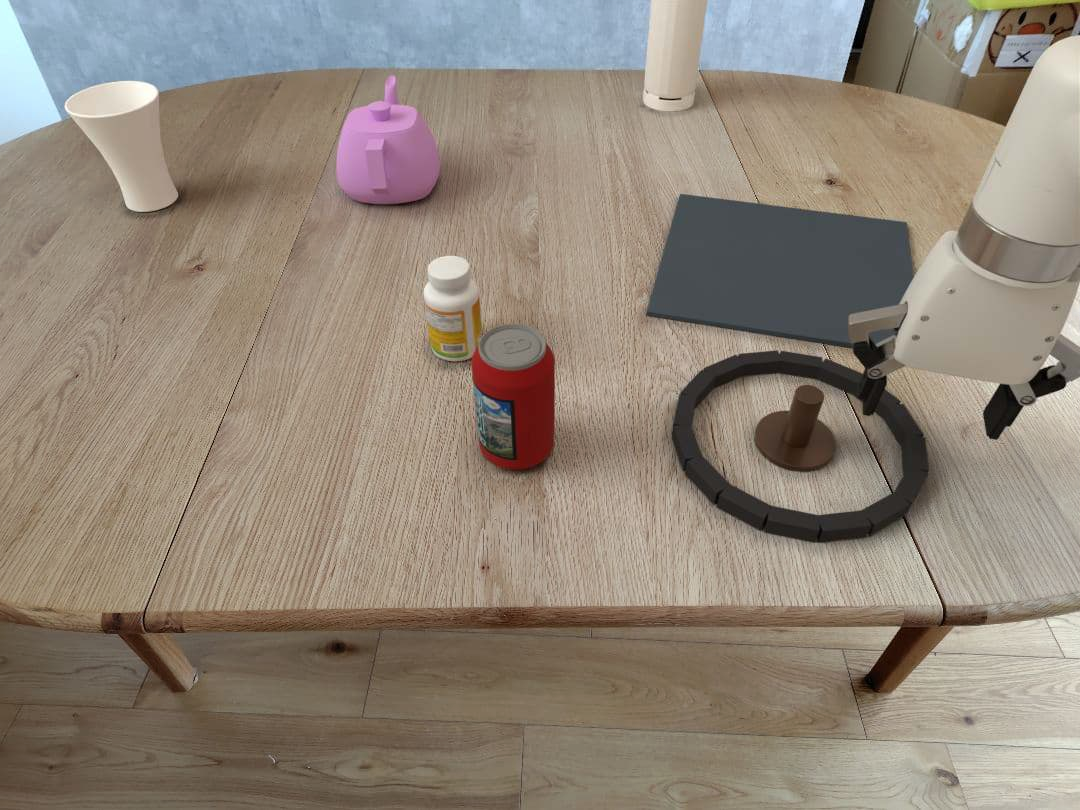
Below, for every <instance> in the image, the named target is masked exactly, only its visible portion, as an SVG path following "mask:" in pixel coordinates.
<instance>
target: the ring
mask: <svg viewBox="0 0 1080 810" xmlns="http://www.w3.org/2000/svg"><path fill="white" fill-rule="evenodd" d="M768 374H784V375H791V376H796V377H803V378H807V379H808V378H809V379H815V380H818V381H821V382H823V383H825V384H827V385H829V386H831V387H834V388H837V389H839V390H841V391H843V392H845V393H848V394H850V395H853V396H854V397H855V398H857V388H858V384H859V382H860V380H861V377H862V375H863V372H860V371H858V370H855V369H853V368H850V367H848V366H846V365H843V364H842V363H839V362H836V361H834V360H831V359H828V358H824V360H823V357H822V356H816V355H811V354H805V353H798V352H793V351H786V350H780V351H779V350H777V349H776V350H767V351H753V352H744V353H743V352H742V353H738V355H737V354H734V355H731V356H729V357H726V358H724V359H722V360H719V361H717V362H714V363H713V364H710V365H707V366H705V367H704V368H703V369H701V370H699V372H698V373H697V374H696V375H695V376H694V377H693V378H692V379H691V381H689V383H687V384H686V386H685V387H684V388H683V389H682V390H681V391H680V394H679V395H678V399H677V404H676V409H675V414H674V417H673V425H672V430H671V440H672V443H673V446H674V449H675V451H676V455H677V457H678V460H679V463H680V466H681V469H682V471H683V472H684V474H685V476H686V477H688V479H689V480H690V481H691V482H692V483H693V484H694V486H696V487H697V489H698V490H699V491H701V493H702V494H703V495H704V496H705V497H706V498H707V499H708V500H709V501H710V502H711V504H712V505H716V508H718V509H720V510H721V511H723V512H725V513H727V514H728V515H730V516H732V517H734V518H736V519H738V520H740V521H741V522H743V523H746V524H747V525H749V526H751V527H753V528H755V529H756V530H758V531H762V529H763V528H764V529H763V532H764V533H768V534H773V535H777V536H781V537H785V538H786V537H787V538H790V539H791V538H792V539H796V540H801V541H806V542H811V543H816V540H817V541H818V543H826V542H836V541H844V540H853V539H861V538H867V536H868V537H871V536H873V535H874V534H877V533H878V532H880V531H882V530H883V529H885V528H887V527H888V526H890V525H892V524H894V523H896V522H898V521H899V520H901V519H902V518H905V516H906V515H907V514H908V513H909V511H910V509H911V508H912V505H913V503H914V502H915V500H916V498H917V496H918V495H919V492H920V491H921V489H922V487H923V485H924V484H925V481H926V479H927V477H928V475H929V471H930V467H929V459H928V458H929V457H928V450H927V441H926V437H925V436H924V435H925V434H924V432H923V431H922V429H921V428H920V427H919V425H918V423H917V422H916V420H915V419H914V417H913V416H912V415H911V413H910V411H909V410H908V408H907V407H906V406H905V404H904V403H901V402H902V401H901V400H900V399H899V398H898V397H896V396H895V395H894V394H892V393H891V392H890V391H888V390H887V389H886V388H885V389H884V392H883V394H882V396H881V398H880V400H879V403H878V405H877V407H876V409H875V411H874V413H875V414H877V415H878V416H879V417H880V418H882V419H883V421H884V422H885V423H884V424H886V426H887V427H888V429H889V430H890V432H891V434H892V436H893V437H894V438H895V440H896V442H897V443H898V445H899V446H900V456H901V457H900V458H901V466H902V467H901V468H902V477H901V479H900V481H899V482H898V484H897V486H896V488H895V489H894V491H893V492H892V493H890V494H888V495H886V496H885V497H883V498H881V499H879V500H877V501H876V502H874V503H872V504H870V505H868V506H867V507H865V508H863V509H861V510H852V511H844V512H843V511H842V512H833V513H825V514H815V513H810V512H805V511H800V510H795V509H790V508H785V507H781V506H776V505H771V504H769V503H767V502H765V501H763V500H761V499H759V498H758V497H756V496H754V495H752V494H750V493H748V492H746V491H744V490H742V489H741V488H739V487H736V486H735V485H732V484H731V483H730V482H729V481H728V480H727V479H726V478H725V477H724V476H723V475H721V473H720V472H719V471H718V470H717V468H715V467H714V466H713V465H712V464H711V462H709V461H708V459H706V457H704V455H703V453H702V450H701V447H700V445H699V442H698V440H697V437H696V434H695V432H694V429H693V426H692V424H693V420H694V414H695V409H697V408H698V406H699V405H700V404H701V403H702V402H703V401H704V400H705V398H707V396H708V395H710V393H711V392H712V391H713V390H714V389H717V388H718V387H720V386H723V385H725V384H727V383H730V382H732V381H734V380H737V379H739V378H741V377H746V376H757V375H758V376H759V375H768ZM858 400H859V401H860V402H862V400H861V399H858Z"/></svg>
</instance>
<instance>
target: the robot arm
mask: <svg viewBox="0 0 1080 810" xmlns="http://www.w3.org/2000/svg"><path fill="white" fill-rule="evenodd" d="M1005 125H1006V126H1005V128H1004V130H1003V132H1002V133H1001V137H1000V139H999V141H998V143H997V145H996V146H995V150H994V152H993V154H992V156H991V158H990V161H989V162H988V165H987V167H986V169H985V171H984V174H983V176H982V178H981V181H980V182H979V185H978V187H977V189H976V191H975V193H974V196H973V198H972V200H971V202H970V205H969V206H968V209H967V210H966V213H965V215H964V217H963V219H962V222H961V224H960V226H959V228H958V230H948V231H945V232H944V233H943V234H942V235H941V237H940V238H939V239H938V240H937V241H936V242H935V244H934V245H933V247H932V248H931V250H930V251H929V253H927V255H926V257H925V258H924V259H923V262H922V263H921V265H920V266H919V268H918V270H917V271H916V273H915V274H914V278H913V280H912V281H911V283H910V285H909V287H908V289H907V290H906V292H905V294H904V296H903V298H902V300H901V302H900V304H899V305H894V306H889V307H884V308H879V309H874V310H869V311H864V312H859V313H854V314H851V315H849V316H848V317H847V330H848V334H849V338H850V341H851V344H852V347H853V348H852V353H853V355H854V356H855V357H856V359H857V360H858V361H859V363H860V364H861V365H862V366H863V368H864V369H863V372H862V374H863V375H862V377H861V380H860V382H859V384H858V388H857V397H856V399H857V400H859V399H861V400H862V401H861V403H862V405H861V406H862V415H863V416H867V417H871V416H873V415H874V414H875V412H874V411H875V409H876V407H877V405H878V403H879V400H880V398H881V396H882V394H883V392H884V389H886V387H887V385H888V378H887V377H888V375H889V374H891V373H894V372H896V371H898V370H900V369H902V368H904V367H908V368H911V369H915V370H919V371H925V372H930V373H936V374H940V375H946V376H952V377H958V378H963V379H969V380H975V381H980V382H981V381H982V382H988V383H994V384H999V385H998V386H997V388H996V390H995V392H994V393H993V395H992V396H991V398H990V400H989V401H988V403H987V404H986V406H985V408H984V409H983V411H982V417H983V423H984V428H985V432H986V437H988V439H989V440H995V441H998V440H999V438H1000V437H1001V435H1002V434H1003V432H1004V431H1005V429H1006V428H1010V427H1012V426H1013V424H1014V423H1015V420H1016V419H1017V417H1018V416H1019V414H1020V413H1021V411H1022V410H1023V408H1024V407H1031V406H1033V405H1034V404H1035V403H1036V402H1037V399H1038V398H1041V397H1044V396H1047V395H1051V394H1053V393H1056V392H1060V391H1062V390H1064V389H1065V388H1066V386H1067V384H1068V383H1069V382H1074V381H1075V380H1078V379H1079V378H1080V346H1079V345H1078V344H1076V343H1075V342H1074V341H1072V340H1070V339H1069V337H1066V336H1065V335H1064V334H1062V332H1063V329H1064V327H1065V325H1066V322H1067V319H1068V317H1069V315H1070V312H1071V309H1072V307H1073V304H1074V301H1075V299H1076V296H1077V294H1078V290H1079V286H1080V34H1077V35H1072V36H1068V37H1065V38H1062V39H1060V40H1058V41H1056V42H1054V43H1053V44H1052V45H1050V46H1048V47H1047V48H1046V49H1045V50H1044V51H1043V52H1042V54H1041V55H1040V57H1039V58H1037V60H1036V62H1035V63H1034V66H1033V67H1032V70H1031V71H1030V73H1029V75H1028V78H1027V79H1026V82H1025V84H1024V86H1023V88H1022V91H1021V93H1020V95H1019V97H1018V99H1017V102H1016V104H1015V106H1014V108H1013V110H1012V112H1011V115H1010V117H1009V119H1008V121H1007V123H1006V124H1005ZM886 329H891V332H893V333H896V334H894V335H893V336H891V337H889V338H887V339H885V340H883V341H881V342H879V343H877V344H875V343H874V342H873V341H872V340H871V338H870V337H869V336H868V334H869V333H871V332H875V331H881V330H886ZM892 353H893V354H892ZM1049 356H1051V357H1053V358H1054V359H1056V360H1058V362H1057V363H1056V364H1051V365H1048V366H1046V367H1043V366H1044V364H1045V362H1046V361H1047V360H1048V357H1049ZM1042 367H1043V368H1042Z"/></svg>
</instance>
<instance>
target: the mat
mask: <svg viewBox="0 0 1080 810" xmlns="http://www.w3.org/2000/svg"><path fill="white" fill-rule="evenodd" d="M908 229H909V228H908V222H907V221H901V220H895V219H894V220H893V219H885V218H877V217H869V216H861V215H853V214H845V213H838V212H831V211H829V212H828V211H821V210H814V209H813V210H812V209H805V208H798V207H789V206H781V205H773V204H766V203H757V202H750V201H741V200H734V199H725V198H719V197H718V198H717V197H710V196H703V195H694V194H686V193H679V196H678V200H677V203H676V207H675V211H674V214H673V218H672V221H671V225H670V228H669V231H668V235H667V239H666V242H665V246H664V249H663V252H662V257H661V259H660V262H659V266H658V270H657V274H656V278H655V281H654V284H653V287H652V290H651V291H652V292H651V295H650V298H649V302H648V305H647V309H646V314H645V315H646V316H648V317H653V318H659V319H667V320H672V321H680V322H686V323H693V324H698V325H704V326H705V325H706V326H711V327H717V328H723V329H730V330H736V331H742V332H750V333H755V334H762V335H769V336H775V337H781V338H787V339H793V340H800V341H807V342H812V343H819V344H825V345H831V346H838V347H845V348H849V349H850V348H851V349H853V347H852V344H851V341H850V338H849V334H848V330H847V317H848V316H849V315H851V314H854V313H859V312H864V311H869V310H874V309H879V308H884V307H889V306H894V305H899V304H900V302H901V300H902V298H903V296H904V294H905V292H906V290H907V289H908V287H909V285H910V283H911V281H912V280H913V278H914V276H915V274H914V270H913V269H914V267H913V261H912V252H911V244H910V237H909V230H908ZM894 334H896V333H893V332H891V329H886V330H881V331H875V332H871V333H869V334H868V336H869V337H870V338H871V340H872V341H873V342H874V343H875V344H877V343H879V342H881V341H883V340H885V339H887V338H889V337H891V336H893V335H894ZM892 354H893V353H892Z"/></svg>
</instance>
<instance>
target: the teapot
mask: <svg viewBox="0 0 1080 810" xmlns="http://www.w3.org/2000/svg"><path fill="white" fill-rule="evenodd" d="M440 172H441V162H440V156H439V151H438V147H437V144H436V141H435V138H434V135H433V133H432V132H431V130H430V128H429V125H428V124H427V123H426V121H425V119H424V118H423V115H421V113H420V112H419V111H418V109H416V108H415V107H413V106H409V105H405V104H400V101H399V97H398V90H397V77H396V76H395V75H389V76H388V77H387V78H386V81H385V85H384V100H376V101H374V102H373V101H372V102H371V103H369V104H368V105H364V106H359V107H356V108H354V109H352V110H351V111H350V112H348V115H347V116H346V118H345V121H344V123H343V126H342V130H341V132H340V136H339V140H338V144H337V150H336V179H337V183H338V185H339V187H340V189H341V190H342V191H343V192H344V193H345V194H346V195H347V196H348V197H349V198H350V199H352V200H353V201H356V202H360V203H365V204H372V205H373V204H374V205H395V204H396V205H397V204H405V203H412V202H415V201H418V200H422V199H424V198H426V197H428V196H429V195H430V194H431V192H432V190H433V189H434V187H435V185H436V183H437V181H438V178H439V176H440Z"/></svg>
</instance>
